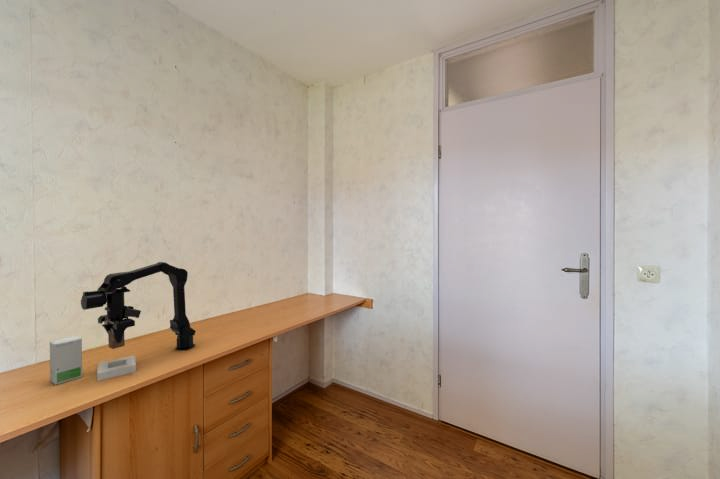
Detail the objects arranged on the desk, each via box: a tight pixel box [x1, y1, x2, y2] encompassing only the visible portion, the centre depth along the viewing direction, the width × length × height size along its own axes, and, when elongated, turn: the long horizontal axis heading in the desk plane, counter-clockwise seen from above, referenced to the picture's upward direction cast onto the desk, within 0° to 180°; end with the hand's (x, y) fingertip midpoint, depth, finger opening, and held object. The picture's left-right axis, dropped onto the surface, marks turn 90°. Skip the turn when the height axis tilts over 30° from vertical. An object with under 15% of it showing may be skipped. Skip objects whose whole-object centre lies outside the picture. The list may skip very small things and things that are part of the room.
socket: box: [96, 354, 137, 382], centre depth 124 cm, size 12×12×3 cm
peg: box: [107, 330, 126, 350], centre depth 124 cm, size 4×4×7 cm
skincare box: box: [49, 335, 83, 386], centre depth 118 cm, size 8×7×16 cm
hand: (116, 341), depth 125 cm, fingers closed on peg, 4 cm apart
